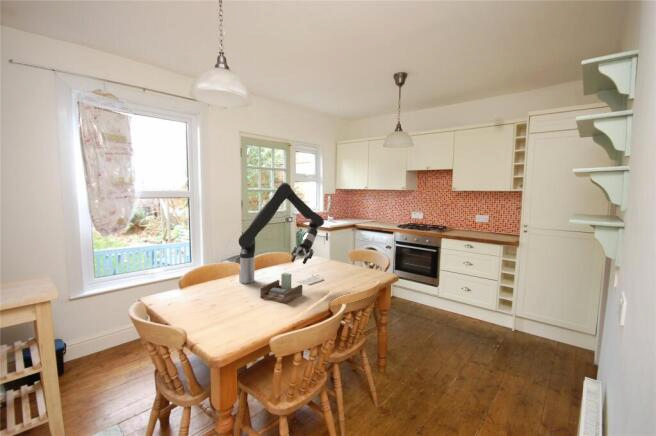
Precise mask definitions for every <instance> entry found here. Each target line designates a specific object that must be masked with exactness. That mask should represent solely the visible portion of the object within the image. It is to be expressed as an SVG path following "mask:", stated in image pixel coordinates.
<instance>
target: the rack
mask: <svg viewBox="0 0 656 436" xmlns="http://www.w3.org/2000/svg"><path fill="white" fill-rule="evenodd" d="M280 283H281V281H280V279H277V280H275V281H273V282H270V283H267V284H265V285H263V286H261V287H260V289H259V291H260V292H259V293H260V296H259V297H260V299H264V300H268V301H271V302H276V303H280V304H283V305H288V304H289V303H291V302H292V301H294V300H296V299H298V298H300V297H301V296H303V284H299V285H297V286H295V287H291V290H289V291H287V292H285V293H284V299H283V298H278V297H274V296H270V295H268V293H269V292H270V289H272V288H280V289H281V285H280Z"/></svg>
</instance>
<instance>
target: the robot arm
mask: <svg viewBox="0 0 656 436" xmlns="http://www.w3.org/2000/svg"><path fill="white" fill-rule="evenodd" d="M285 200H288V201H289V202H290V203H291V204H292V205H293V206H294V207H295V209H296V210H297V211H298V213H299V214H301V216H303V217H304V219H306V220H310V221H309V222H308V226H307V230H306V232H305V234H304V236H303V237H302V240H301V241H300V243H299V247H297V246H294V248H293V249H292V251H291V253H290V255H291V256H292V257H291V259H290V261H291V262H292V263H294V262H295V260H296V257H299V256H305V257H304V258H303V260H302V264H303V265H305V264H307V263H308V260H311V259H312V257H313V255H314V253H315V252H314V251H315V250H313V248H312V247H313V245H314V242H315V240H316V237H317V235H318V232H319V231H318V228H320V227H322V226H323V225H324V224H325V221H324V218H323V217H322V216H321V215H320V214H318V213H317V212H315V211H314V210H312V209H311V208H310V207H309V206H308V205H307V204H306V203H305V202H304V201H303V200H302V199H301V198H300V197H299V196H298V195H297V194H296V193H295V191H294V190H293V189H292V186H291V185H290V183H287V182H281V183H279V184H278V185H277V188H276V190H275V192H274V194H273V195H272V197H271V198H270V199H269V201H267V202H266V203H265V204H264V205H263V206H262V207H261V209H260V210H259V211H258V213H257V214H256V216H255V217H254V219H253V220H252V221H251V223H250V225H249V226H248V227H247V229H246V230H245V231H244V232H243V233H242V234H241V235H240V236H239V238H238V244H239V247H241V249H240V252H239V253H240V254H239V264H240V265H239V268H238V276H239V277H238V279H239V282H240V283H241V284H247V285H248V284H252V283H255V252H256V237H257V236H258V234H260V232H261V231H262V230H263V229H264V228H265V227H266V226H267V225H268V224H269V223H270V221H271V220H272V219H273V217H274V216H275V214H277V212H278V209H280V206H281V205H282V204H283V203H284V202H285Z"/></svg>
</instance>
